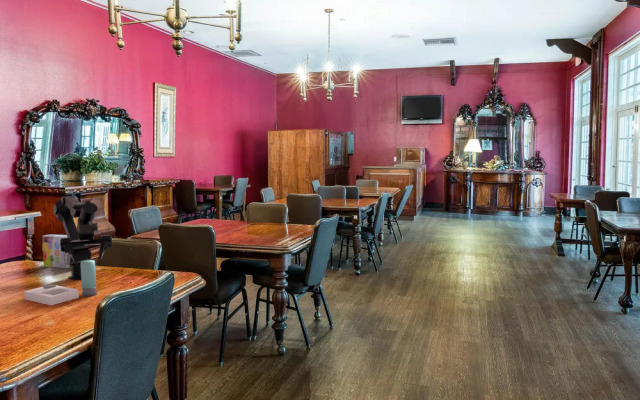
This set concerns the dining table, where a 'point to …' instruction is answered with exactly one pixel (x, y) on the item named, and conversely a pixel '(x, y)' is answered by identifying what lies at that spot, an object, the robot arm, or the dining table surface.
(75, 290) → the socket plate
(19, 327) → the dining table surface
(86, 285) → the plug
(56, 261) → the snack box
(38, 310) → the dining table surface
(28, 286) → the dining table surface
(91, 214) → the robot arm
